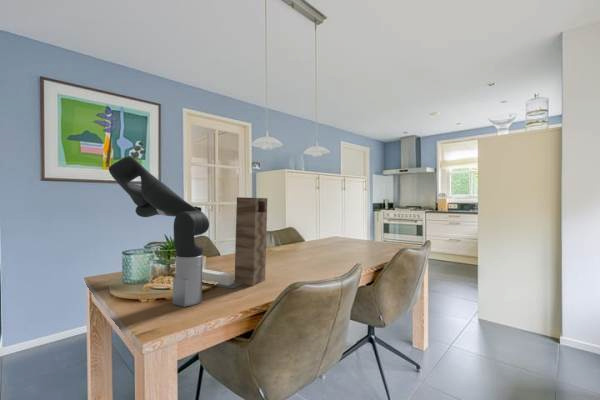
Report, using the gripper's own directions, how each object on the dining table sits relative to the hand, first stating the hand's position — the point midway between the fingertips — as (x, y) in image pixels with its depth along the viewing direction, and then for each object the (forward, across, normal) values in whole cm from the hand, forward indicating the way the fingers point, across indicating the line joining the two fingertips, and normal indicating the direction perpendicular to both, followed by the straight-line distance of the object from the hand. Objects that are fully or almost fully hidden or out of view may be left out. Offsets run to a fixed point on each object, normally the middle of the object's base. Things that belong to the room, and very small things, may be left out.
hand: (194, 209), depth 131 cm
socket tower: (+26, +9, +32) cm, 42 cm away
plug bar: (+11, 0, +32) cm, 34 cm away
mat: (+13, 0, +32) cm, 35 cm away
